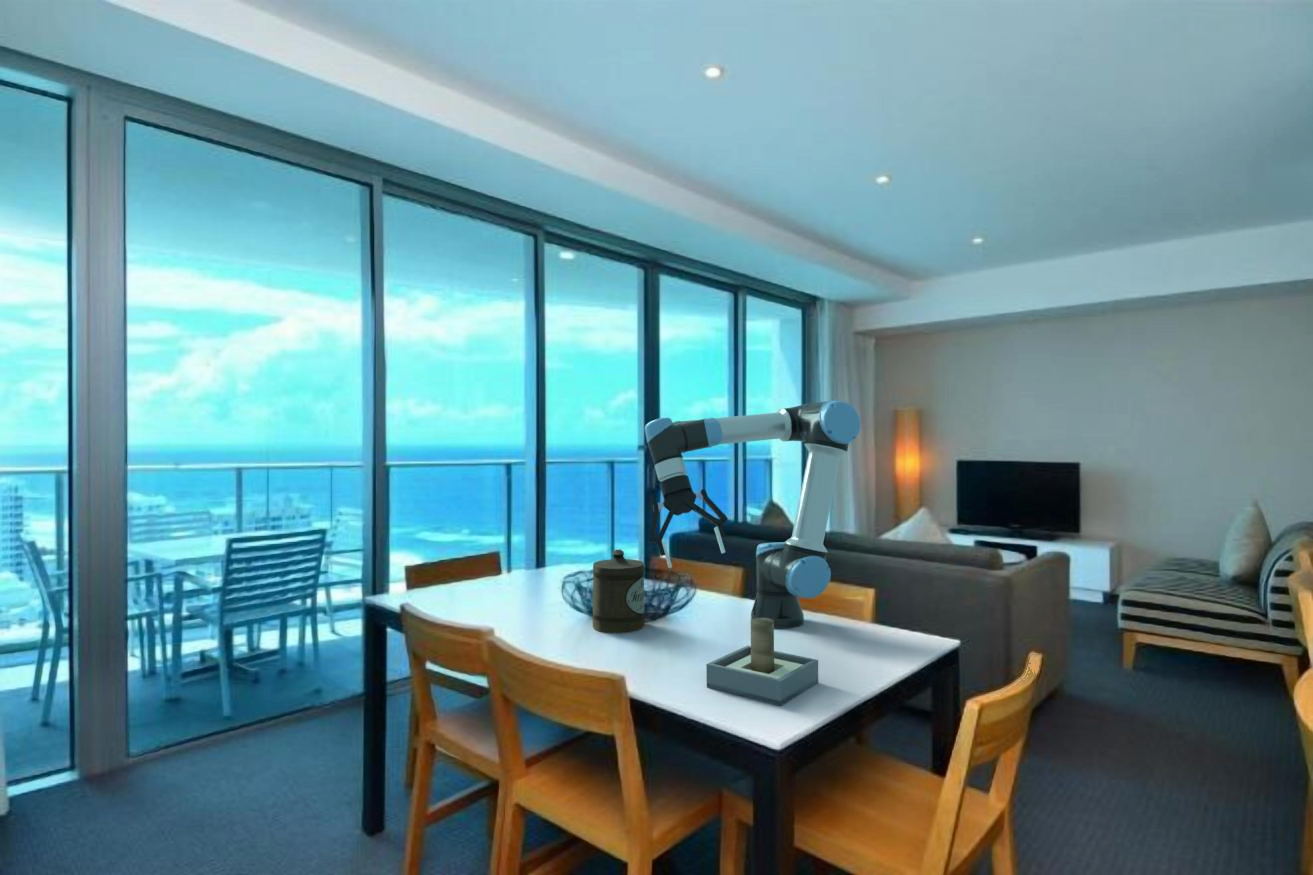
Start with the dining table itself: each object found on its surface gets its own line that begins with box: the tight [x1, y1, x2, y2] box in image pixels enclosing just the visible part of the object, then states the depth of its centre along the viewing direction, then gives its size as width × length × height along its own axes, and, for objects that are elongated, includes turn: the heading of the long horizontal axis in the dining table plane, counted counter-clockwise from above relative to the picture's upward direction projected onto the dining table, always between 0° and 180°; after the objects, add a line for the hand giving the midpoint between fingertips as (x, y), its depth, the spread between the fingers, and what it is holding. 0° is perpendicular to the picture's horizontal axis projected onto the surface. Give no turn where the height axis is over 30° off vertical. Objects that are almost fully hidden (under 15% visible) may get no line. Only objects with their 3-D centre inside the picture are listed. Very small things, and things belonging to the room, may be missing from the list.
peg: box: [750, 618, 775, 674], centre depth 156 cm, size 5×5×13 cm
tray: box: [705, 645, 819, 707], centre depth 156 cm, size 17×18×5 cm
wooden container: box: [592, 549, 645, 634], centre depth 205 cm, size 15×15×22 cm
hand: (697, 560), depth 176 cm, fingers open, 13 cm apart
